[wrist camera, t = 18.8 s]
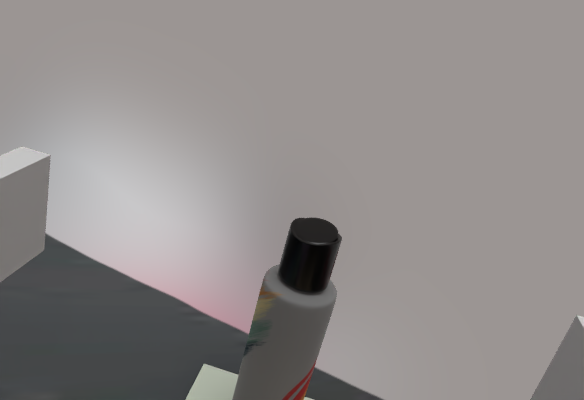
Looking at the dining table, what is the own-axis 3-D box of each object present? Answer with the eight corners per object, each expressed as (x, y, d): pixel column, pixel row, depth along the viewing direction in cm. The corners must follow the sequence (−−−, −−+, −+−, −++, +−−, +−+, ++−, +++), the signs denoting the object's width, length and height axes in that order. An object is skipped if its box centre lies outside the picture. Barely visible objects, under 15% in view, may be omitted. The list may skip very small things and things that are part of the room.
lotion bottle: (304, 433, 47) (370, 235, 39) (261, 469, 43) (326, 254, 35) (257, 394, 50) (310, 202, 42) (212, 424, 46) (262, 216, 38)
